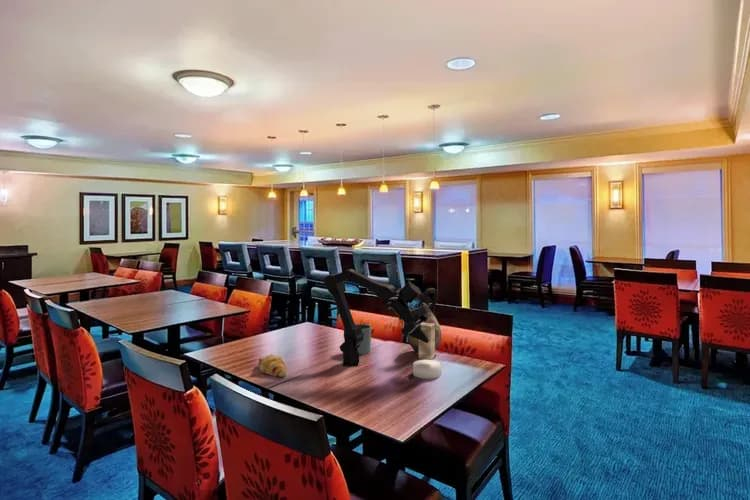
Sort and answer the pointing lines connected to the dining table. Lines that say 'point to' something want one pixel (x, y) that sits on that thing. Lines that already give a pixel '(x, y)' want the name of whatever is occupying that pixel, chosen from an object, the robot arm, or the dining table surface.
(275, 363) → the croissant
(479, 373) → the dining table surface
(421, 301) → the ceramic jug
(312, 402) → the dining table surface
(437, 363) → the cream plinth
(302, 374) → the dining table surface
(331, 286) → the robot arm
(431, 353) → the maple block
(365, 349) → the grey cup
